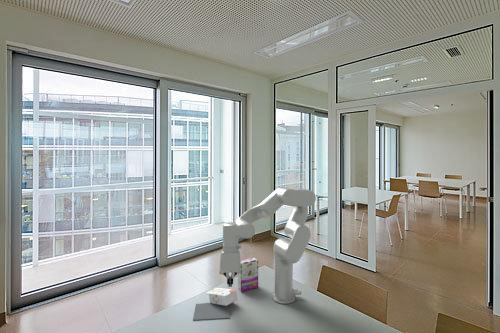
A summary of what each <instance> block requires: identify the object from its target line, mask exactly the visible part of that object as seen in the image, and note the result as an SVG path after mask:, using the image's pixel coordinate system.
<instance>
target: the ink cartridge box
mask: <svg viewBox="0 0 500 333" xmlns="http://www.w3.org/2000/svg"><path fill="white" fill-rule="evenodd" d="M206 294H208V296H209V297H208V298H209V303H214V304H219V305H225V306H227V305H231V304H232V303H234V302H235V301H237V300H238V296H237V295H238V294H237V290H236V289H232V288H224V287H214V288H213V289H211V290H209V291H207V292H206Z"/></svg>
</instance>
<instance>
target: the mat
mask: <svg viewBox="0 0 500 333" xmlns="http://www.w3.org/2000/svg"><path fill="white" fill-rule="evenodd" d="M230 305H231V304H229V305H227V306H225V305H219V304H214V303H210V302H208V303H207V302H206V303H204V302H203V303H195V306H194V307H195V308H194V312H193V318H192V321H194V322H195V321H206V320H207V321H208V320H211V321H212V320H224V319H230V318H231V312H230V311H231V308H230Z"/></svg>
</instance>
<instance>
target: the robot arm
mask: <svg viewBox="0 0 500 333" xmlns="http://www.w3.org/2000/svg"><path fill="white" fill-rule="evenodd" d="M316 200H317V196H316V194H315V192H314V191H312V190H310V189H306V188H301V187H295V188H293V189H292V188H287V187H284V186H283V187H281V186H280V187H277V188H275V190H273V191H272V192H271V193H270V194H269V195H268V196H267V197H266V198H265V199H263V201H261V202H260V203H259V204H257V205H254V206H253V207H251V208H250V209H248V210H246V211H244V213H242V214H241V215H240V216H239V217H238V218H237V219H236V220H235V222H230V221H229V222H225V223H223V225H222V250H221V251H220V256H219V275H220V276H221V275H222V276H224V277H225V278H226V285H228V288H232V287H233V285H234V278H235V277H236V276H238V274H241V260H242V258H241V252H240V249H242V246H241V245H239V239H250V238H252V237H254V236H255V233H256V227H255V226H254V225H253V223H255V222H256V221H258V220H261V219H264V218H265V219H266V218H269V217H272V216H273V215H274V214H275V213H276V212H277V211H278V210H279V209H281V208H282V207H283V206H284V205H285V206H288V207H292V210H291V213H290V216H289V218H288V219H287V222H286V224H285V225H284V229H283V233H284V234H285V236H286V237H287V238H290V239H291V240H289V239H287V238H284V237H280V238H277V239H276V240H275V241H274V243H273V248H272V249H273V256H274V257H273V258H274V291H273V292H272V293H271V299H272V300H273V301H274V302H275V303H278V304H282V305H288V304H291V303H294V302H295V301H296V296H297V295H300V296H301V295H302V294H303V293H302V291H301V290H299V289H298V288H295V289H294V288H293V287H294V286H293V284H294V283H293V282H294V281H293V277H294V276H293V273H294V266H293V265H294V264H296V263H298V262H300V260H301V259H302V257H303V254H304V253H305V251H306V249H307V246H308V245H309V242H310V239H311V229H310V228H309V227H308V226H307V224H306V221H307V220H308V216H309V207H311V206H313V205H314V204H315V202H316ZM230 273H231V274H230Z"/></svg>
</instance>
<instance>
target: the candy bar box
mask: <svg viewBox="0 0 500 333" xmlns="http://www.w3.org/2000/svg"><path fill="white" fill-rule="evenodd" d="M258 288H259V260H258V259H257V258H256V257H254V256H253V257H249V258H244V259H241V274H237V289H238V290H239V291H240V292H241V293H244V292H247V291H251V290H255V289H258Z"/></svg>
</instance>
